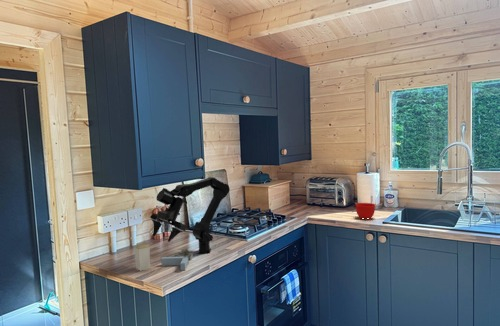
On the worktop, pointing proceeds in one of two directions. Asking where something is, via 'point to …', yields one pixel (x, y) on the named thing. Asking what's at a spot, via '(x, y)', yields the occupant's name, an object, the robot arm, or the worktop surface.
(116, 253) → the worktop surface
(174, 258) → the corner fence
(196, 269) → the worktop surface
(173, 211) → the robot arm
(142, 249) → the tea tin
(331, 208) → the worktop surface
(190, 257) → the egg carton
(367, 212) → the ceramic cup
